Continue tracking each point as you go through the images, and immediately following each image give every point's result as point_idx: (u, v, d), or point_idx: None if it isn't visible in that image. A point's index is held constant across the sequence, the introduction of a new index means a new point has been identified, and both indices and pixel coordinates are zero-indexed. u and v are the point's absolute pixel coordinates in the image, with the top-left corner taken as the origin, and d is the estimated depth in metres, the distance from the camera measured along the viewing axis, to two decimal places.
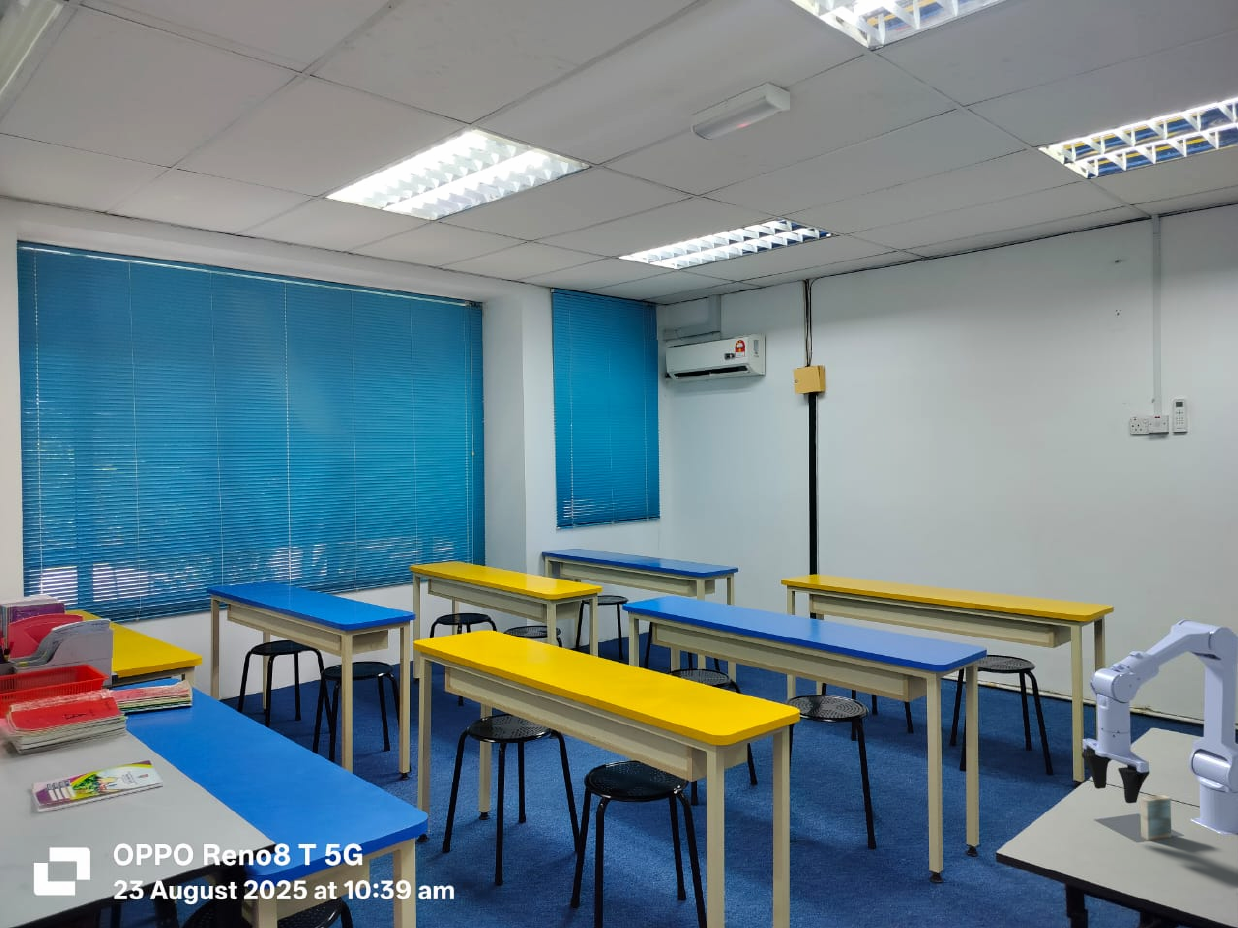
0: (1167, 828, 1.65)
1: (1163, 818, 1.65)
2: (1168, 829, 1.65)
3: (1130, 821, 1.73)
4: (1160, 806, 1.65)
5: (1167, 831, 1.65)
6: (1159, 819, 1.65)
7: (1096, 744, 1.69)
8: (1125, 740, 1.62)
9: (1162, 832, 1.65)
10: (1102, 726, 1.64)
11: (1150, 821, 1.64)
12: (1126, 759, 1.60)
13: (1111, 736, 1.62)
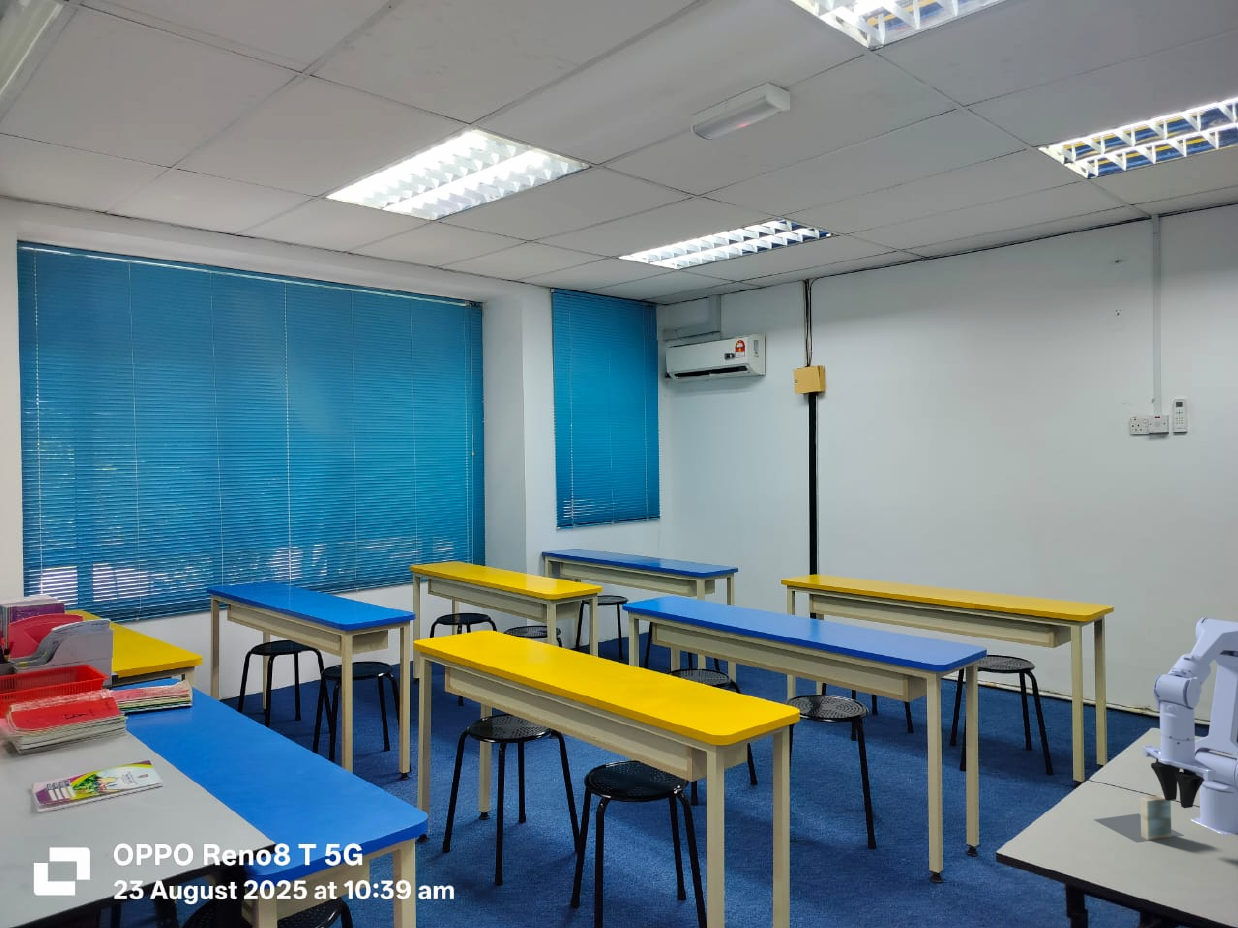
0: (1167, 828, 1.65)
1: (1163, 818, 1.65)
2: (1168, 829, 1.65)
3: (1130, 821, 1.73)
4: (1160, 806, 1.65)
5: (1167, 831, 1.65)
6: (1159, 819, 1.65)
7: (1157, 751, 1.65)
8: (1190, 747, 1.58)
9: (1162, 832, 1.65)
10: (1170, 734, 1.59)
11: (1150, 821, 1.64)
12: (1192, 767, 1.56)
13: (1175, 743, 1.59)
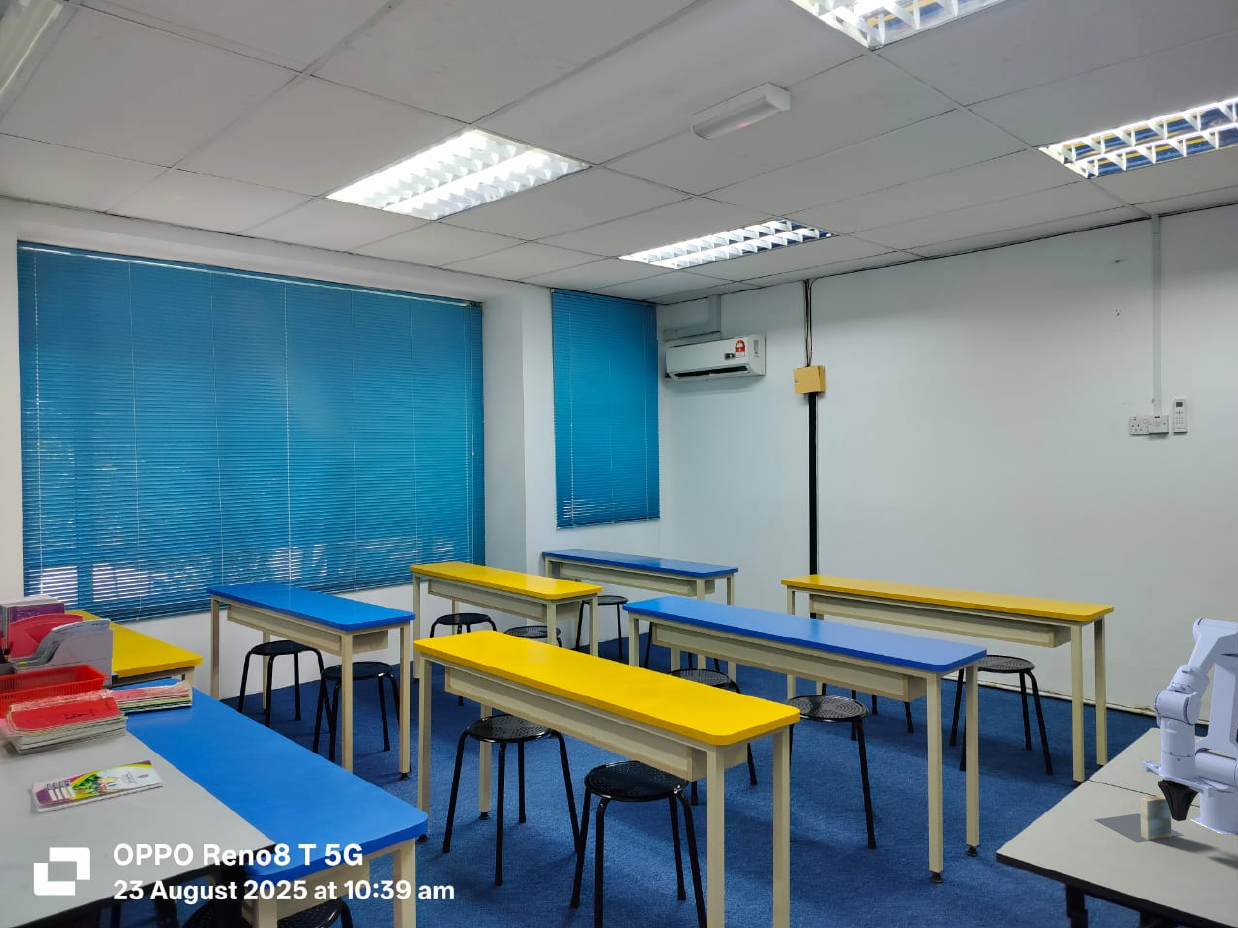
0: (1167, 828, 1.65)
1: (1163, 818, 1.65)
2: (1168, 829, 1.65)
3: (1130, 821, 1.73)
4: (1160, 806, 1.65)
5: (1167, 831, 1.65)
6: (1159, 819, 1.65)
7: (1158, 767, 1.65)
8: (1190, 764, 1.58)
9: (1162, 832, 1.65)
10: (1171, 750, 1.59)
11: (1150, 821, 1.64)
12: (1192, 783, 1.56)
13: (1176, 759, 1.59)
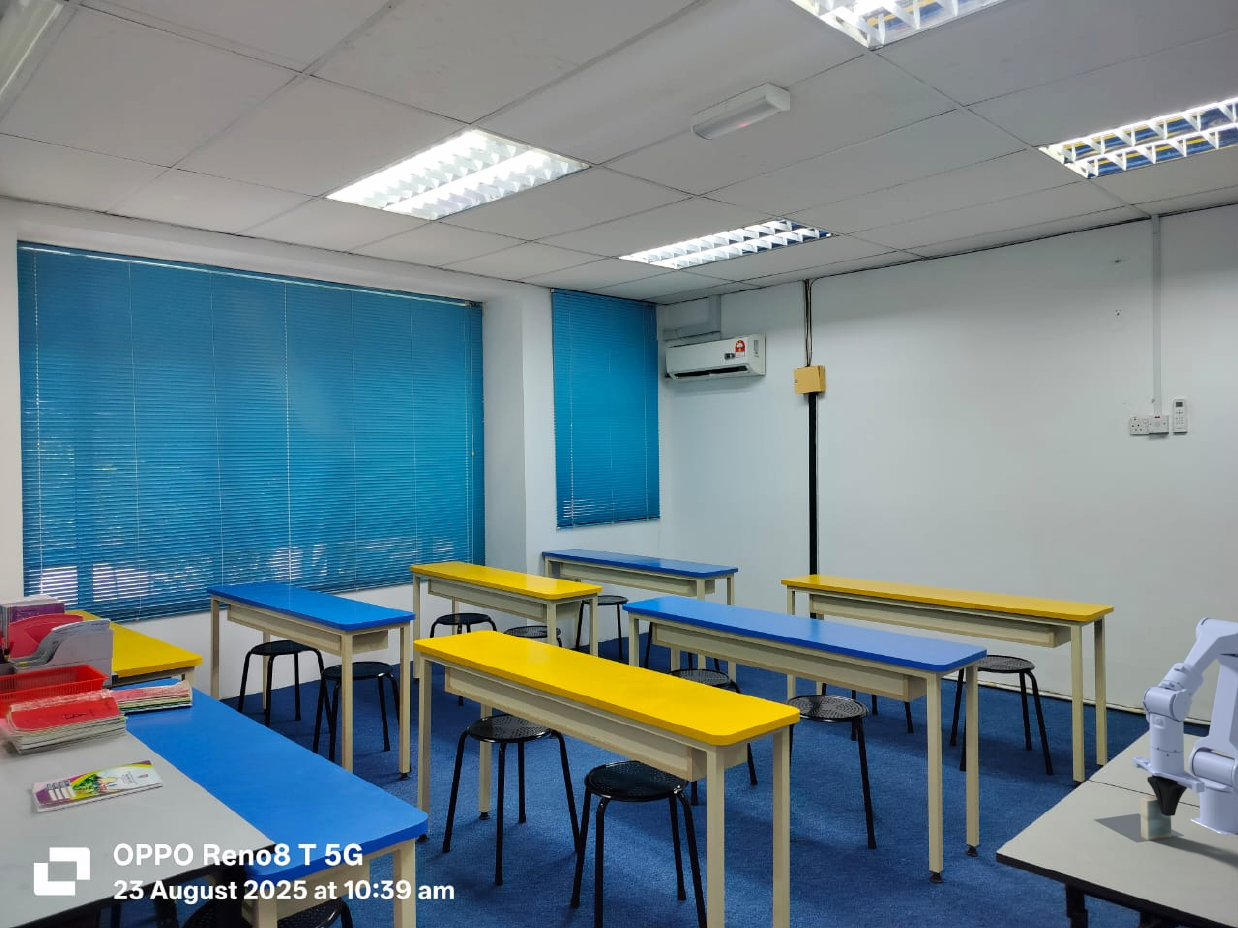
0: (1167, 828, 1.65)
1: (1163, 818, 1.65)
2: (1168, 829, 1.65)
3: (1130, 821, 1.73)
4: None
5: (1167, 831, 1.65)
6: (1159, 819, 1.65)
7: (1147, 763, 1.67)
8: (1179, 759, 1.60)
9: (1162, 832, 1.65)
10: (1158, 746, 1.62)
11: (1150, 821, 1.64)
12: (1181, 779, 1.58)
13: (1165, 755, 1.61)
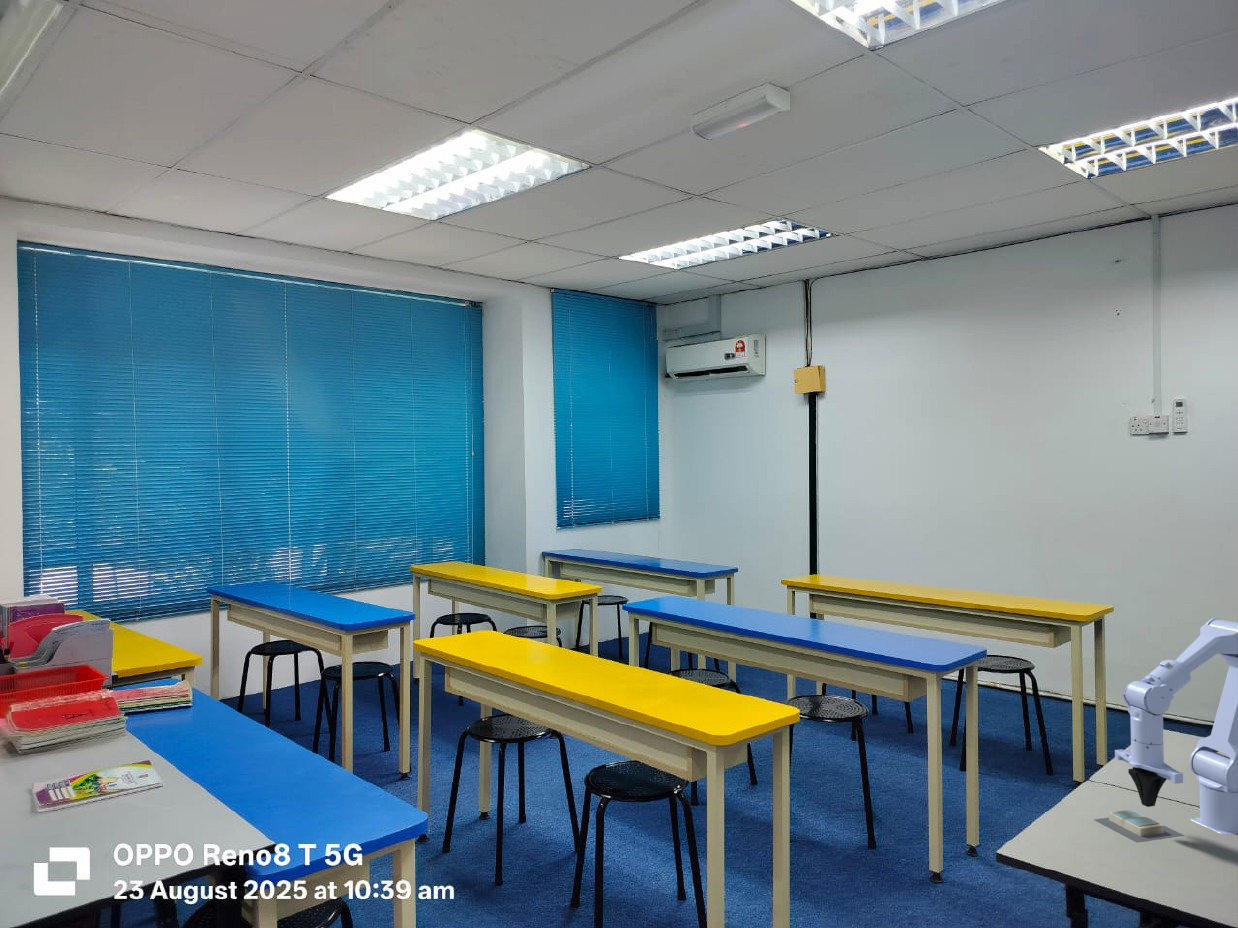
0: (1151, 821, 1.69)
1: (1139, 817, 1.71)
2: (1153, 821, 1.69)
3: None
4: (1125, 812, 1.73)
5: (1154, 822, 1.68)
6: (1135, 818, 1.71)
7: (1129, 755, 1.72)
8: (1158, 751, 1.65)
9: (1149, 823, 1.68)
10: (1135, 737, 1.67)
11: (1127, 819, 1.70)
12: (1160, 770, 1.63)
13: (1145, 747, 1.66)
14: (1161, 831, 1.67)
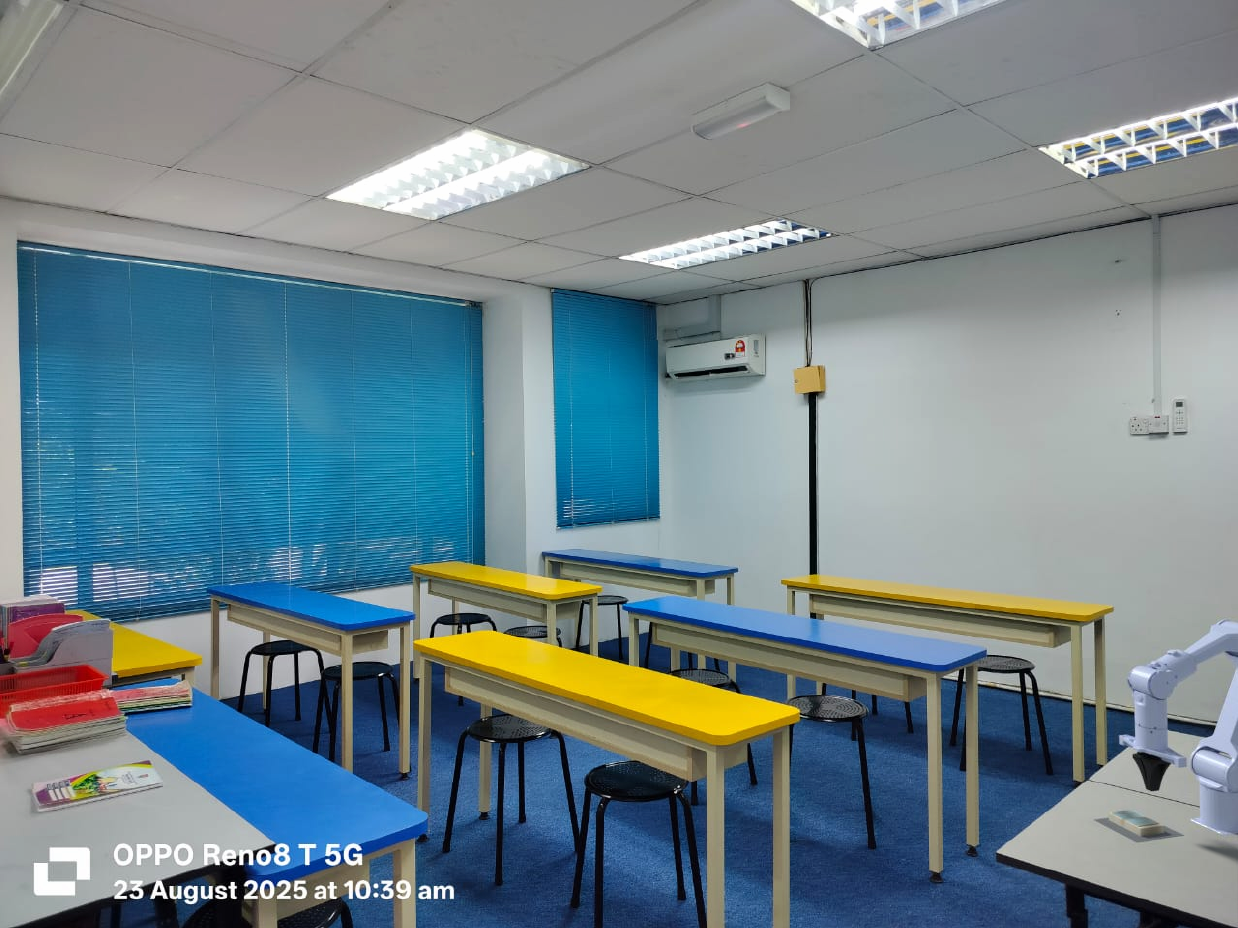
0: (1151, 821, 1.69)
1: (1139, 817, 1.71)
2: (1153, 821, 1.69)
3: None
4: (1125, 812, 1.73)
5: (1154, 822, 1.68)
6: (1135, 818, 1.71)
7: (1133, 740, 1.72)
8: (1162, 736, 1.65)
9: (1149, 823, 1.68)
10: (1139, 722, 1.67)
11: (1127, 819, 1.70)
12: (1164, 754, 1.63)
13: (1148, 732, 1.66)
14: (1161, 831, 1.67)
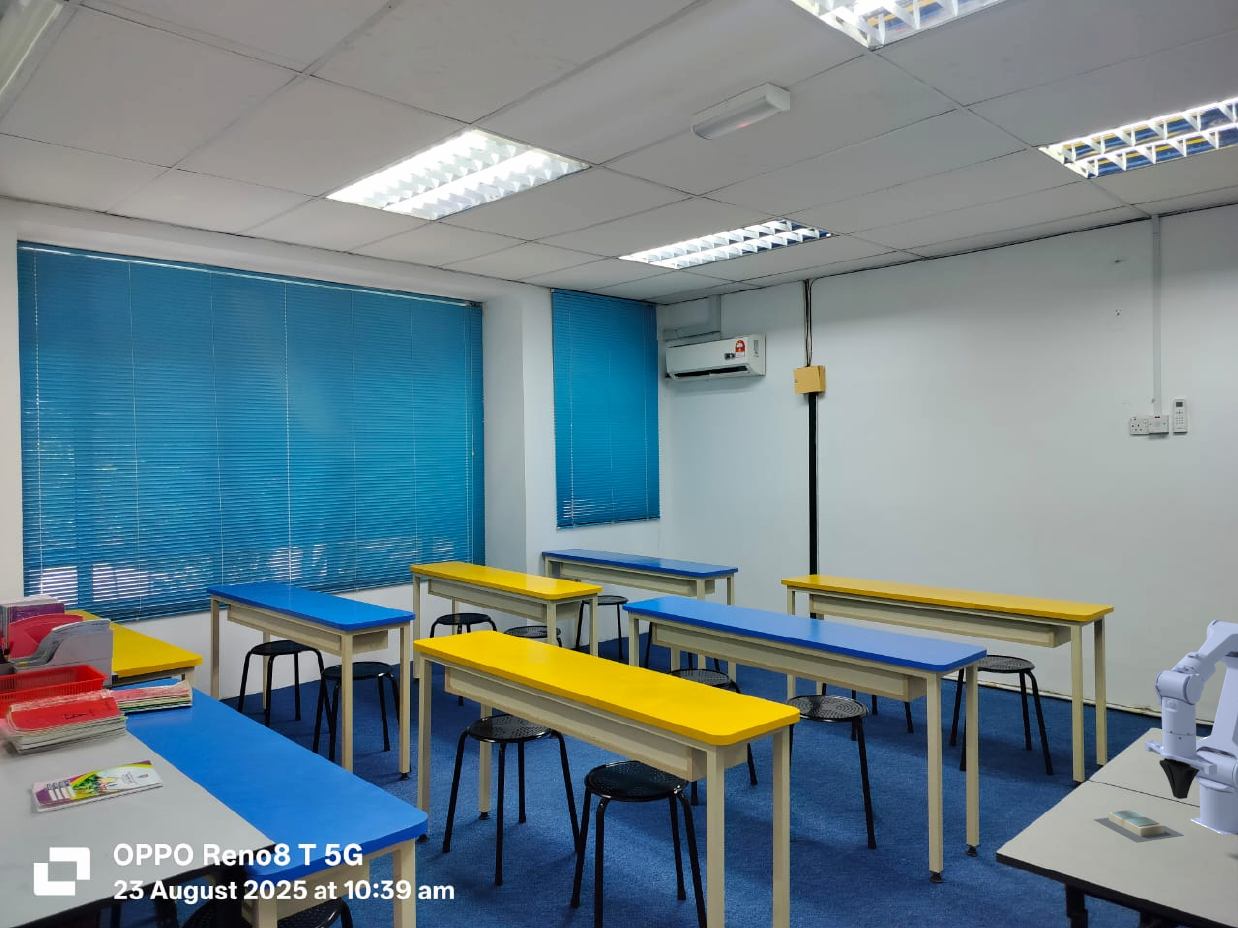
0: (1151, 821, 1.69)
1: (1139, 817, 1.71)
2: (1153, 821, 1.69)
3: None
4: (1125, 812, 1.73)
5: (1154, 822, 1.68)
6: (1135, 818, 1.71)
7: (1159, 746, 1.68)
8: (1191, 742, 1.61)
9: (1149, 823, 1.68)
10: (1171, 729, 1.62)
11: (1127, 819, 1.70)
12: (1193, 761, 1.59)
13: (1177, 738, 1.62)
14: (1161, 831, 1.67)
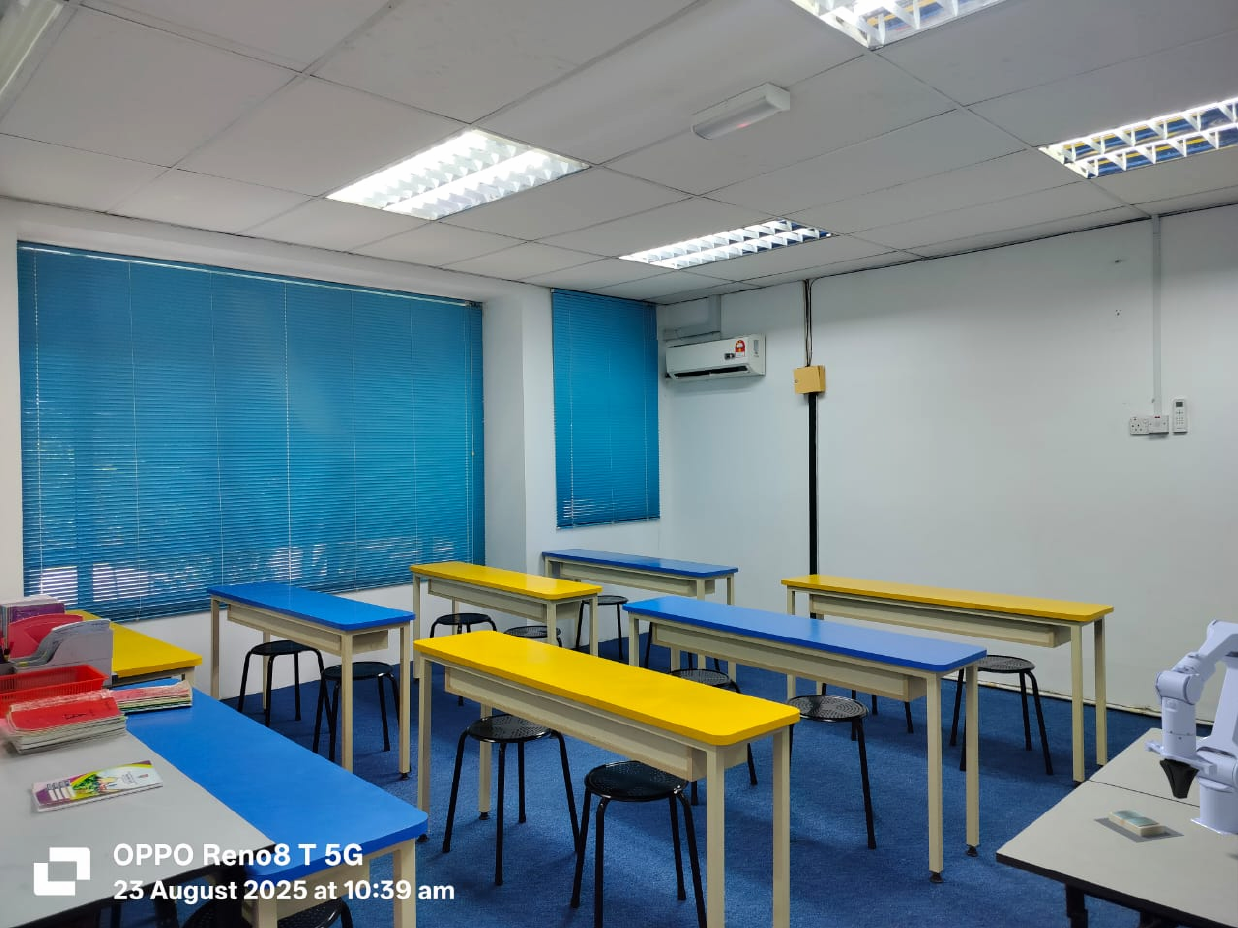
0: (1151, 821, 1.69)
1: (1139, 817, 1.71)
2: (1153, 821, 1.69)
3: None
4: (1125, 812, 1.73)
5: (1154, 822, 1.68)
6: (1135, 818, 1.71)
7: (1159, 746, 1.68)
8: (1191, 742, 1.61)
9: (1149, 823, 1.68)
10: (1171, 729, 1.62)
11: (1127, 819, 1.70)
12: (1193, 761, 1.59)
13: (1177, 738, 1.62)
14: (1161, 831, 1.67)
